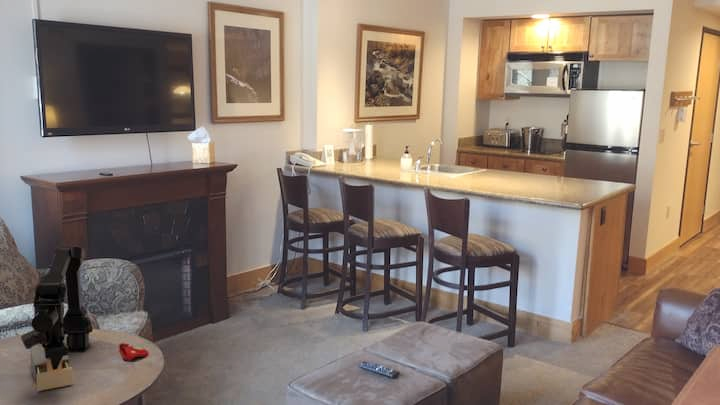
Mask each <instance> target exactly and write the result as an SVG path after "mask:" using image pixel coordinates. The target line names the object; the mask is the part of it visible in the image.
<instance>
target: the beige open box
mask: <svg viewBox="0 0 720 405" xmlns="http://www.w3.org/2000/svg"><path fill="white" fill-rule="evenodd" d="M73 370H74V369H73V367H71V366H69V367H68V365H67V362H66V361H62V360H61V361H60V364H59V366H58V368H57V369H56V370H53V368H52V364H51V360H50V359H47V364H43V365H38V366H36V377H37V382H36V392H41V391H45V390H50V389H56V388H61V387H67V386H71V385H74V378H73V376H74V375H73Z"/></svg>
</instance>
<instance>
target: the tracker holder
mask: <svg viewBox="0 0 720 405" xmlns="http://www.w3.org/2000/svg"><path fill="white" fill-rule="evenodd" d="M118 348H119V349H118V350H119V353H120V355H121V358H122V360H124V361H127V362H130V361H132V360H133V359H134V358H137V357H148V356H149V351H148V350H147V349H146V348H144V347H142V346H138V345H131V344H130V343H127V342H120V343H119V344H118Z"/></svg>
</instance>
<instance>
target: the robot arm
mask: <svg viewBox="0 0 720 405" xmlns="http://www.w3.org/2000/svg"><path fill="white" fill-rule="evenodd" d="M85 257H86V249H85V248H84V247H82V246H81V245H71V244H70V245H65V244H64V245H58V246H55V248H54V257H53V260H52V262H51V265H50V267H49V270H48V273H46V274H45V275H43V276H41V278H40V280H39V282H38V283H37V285H36V286H35V292H34V299H33V304H32V306H33V308H34V307H39V311H38V313H37V314H36V316H33V317H32V320H31V327H32V329H33V330H30V331H28V332H25V333H24V334H22V335H21V336H20V337H21V342H22V343H23V345H24V348H25V349H26V350H30V348H33V347H34V346H35V347H36V346H37V345H41V344H42V345H41V347H43V348H44V355H45V358H46V359H49V358H50V360H51V364H52V368H53V370H56V369H57V368H58V366H59V364H60V361H61V359H62V357H63V356H66V355H68V356H69V352H75V351H79V352H80V351H82V353H83V352H84V353H85V351H87V350H88V349H89V348H90V346H91V345H92V344H91V343H90V340H89V339H90V338H89V336H90V335H89V334H91V333H92V332H93V331H94V330H93V328H94V327H93V323H92V321H91V318H90V317H89V314H88V313H89V312H88V310H87V308H85V307H84V306H83V301H82V300H83V299H82V289H81V288H82V287H81V274H80V268H81V266H82V265H83V262H84V261H85V259H86V258H85ZM39 299H48V300H45V301H39ZM66 299H67V310H66V312H65V313H64V315H63V312H62V305H63V303H66ZM63 332H64V335H63ZM64 336H65V339H64ZM65 340H66V343H65V342H64V341H65ZM41 342H42V343H41ZM39 343H41V344H39ZM79 352H78V353H79ZM80 353H81V352H80Z"/></svg>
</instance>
